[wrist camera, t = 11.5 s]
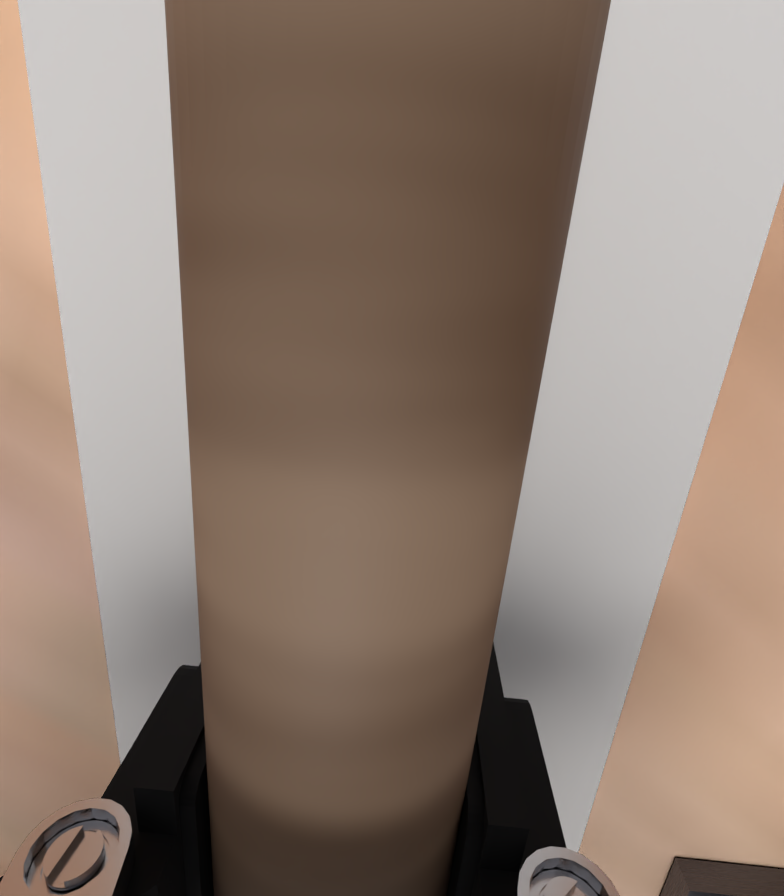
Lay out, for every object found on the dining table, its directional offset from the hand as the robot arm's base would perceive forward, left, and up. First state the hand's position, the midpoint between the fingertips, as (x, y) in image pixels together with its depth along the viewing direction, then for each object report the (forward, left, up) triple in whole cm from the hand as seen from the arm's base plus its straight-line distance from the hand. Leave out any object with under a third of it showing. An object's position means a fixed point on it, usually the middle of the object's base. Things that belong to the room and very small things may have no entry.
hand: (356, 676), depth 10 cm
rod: (0, 0, +1) cm, 1 cm away
